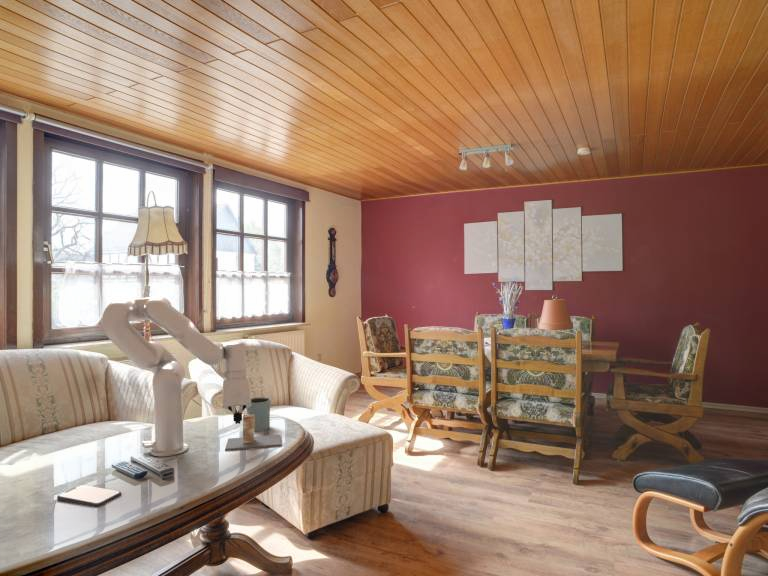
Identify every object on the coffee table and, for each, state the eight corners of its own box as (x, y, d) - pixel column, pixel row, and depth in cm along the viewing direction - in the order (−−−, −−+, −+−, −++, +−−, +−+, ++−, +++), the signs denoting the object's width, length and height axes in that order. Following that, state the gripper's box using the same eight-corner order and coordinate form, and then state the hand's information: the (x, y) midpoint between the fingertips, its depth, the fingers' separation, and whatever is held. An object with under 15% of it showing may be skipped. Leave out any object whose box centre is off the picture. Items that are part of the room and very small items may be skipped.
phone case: (123, 496, 146) (82, 488, 151) (123, 491, 146) (82, 483, 151) (97, 510, 137) (54, 501, 142) (97, 504, 137) (54, 496, 142)
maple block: (242, 443, 187) (243, 417, 187) (243, 440, 191) (243, 414, 191) (253, 443, 188) (254, 416, 188) (254, 439, 192) (254, 413, 192)
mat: (225, 450, 182) (225, 448, 182) (228, 440, 194) (228, 438, 193) (281, 446, 186) (281, 444, 186) (280, 436, 198) (280, 434, 198)
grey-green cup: (253, 433, 202) (253, 404, 202) (242, 428, 210) (241, 399, 210) (275, 428, 209) (275, 399, 209) (263, 423, 217) (263, 395, 216)
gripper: (214, 378, 183) (216, 427, 183) (256, 375, 186) (257, 423, 186) (216, 374, 190) (218, 421, 190) (256, 371, 193) (258, 418, 194)
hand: (238, 422), depth 188 cm, fingers closed
